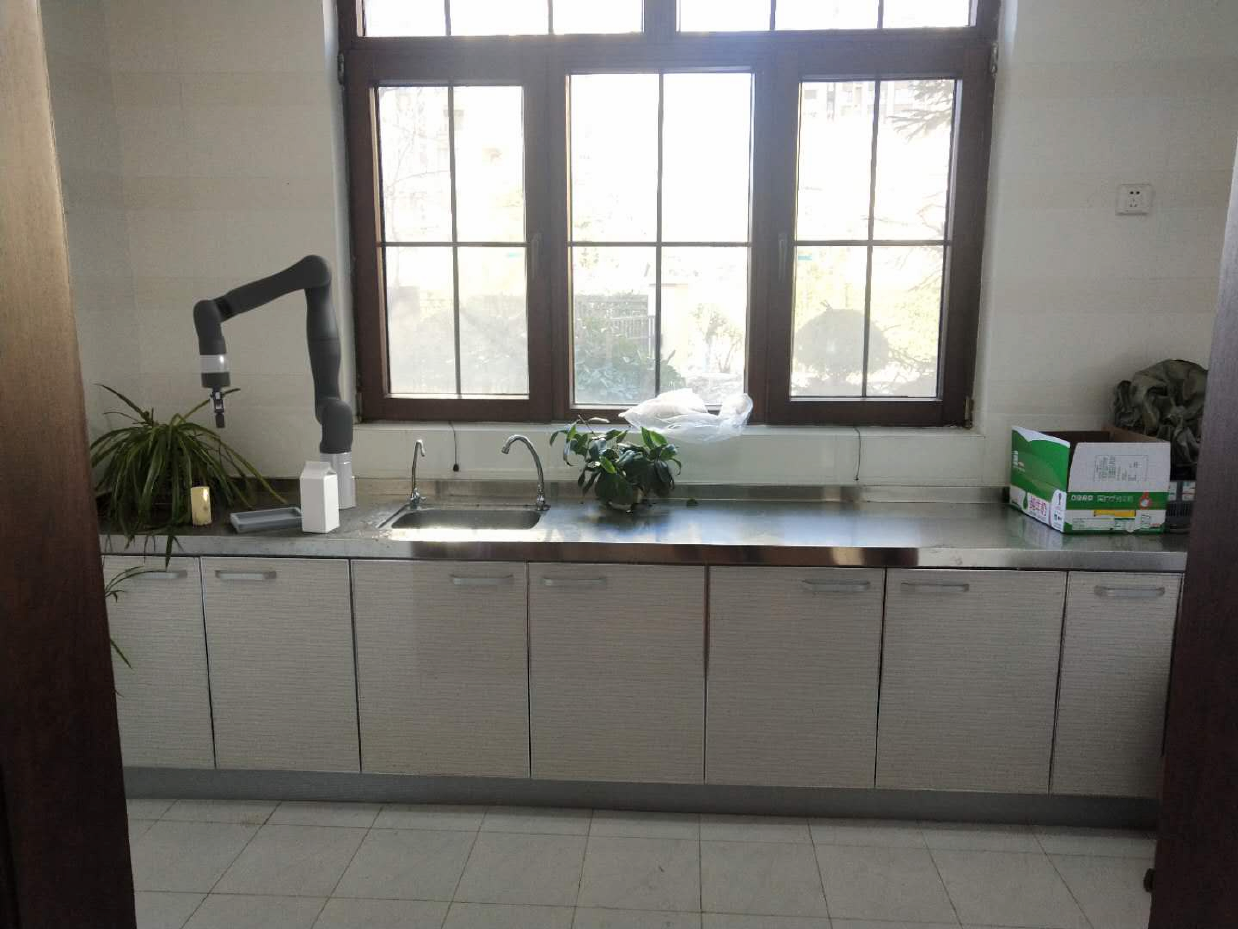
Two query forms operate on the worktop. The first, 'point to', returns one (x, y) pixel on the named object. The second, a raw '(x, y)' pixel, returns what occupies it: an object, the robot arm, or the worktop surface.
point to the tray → (267, 519)
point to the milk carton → (319, 497)
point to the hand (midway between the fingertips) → (220, 426)
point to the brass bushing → (200, 505)
